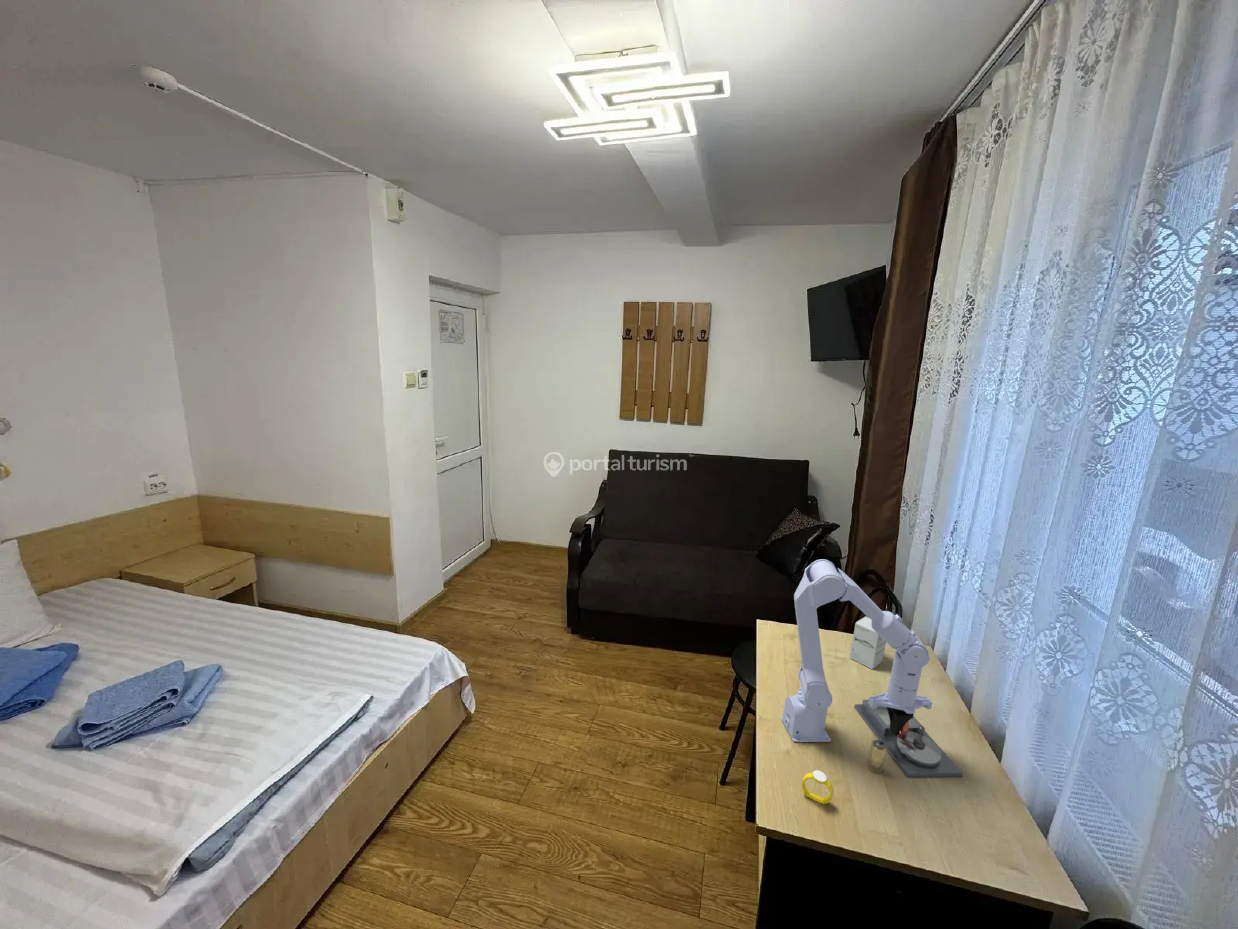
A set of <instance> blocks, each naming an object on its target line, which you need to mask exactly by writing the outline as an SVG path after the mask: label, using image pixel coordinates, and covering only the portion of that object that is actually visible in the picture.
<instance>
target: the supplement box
mask: <svg viewBox="0 0 1238 929" xmlns="http://www.w3.org/2000/svg"><path fill="white" fill-rule="evenodd" d="M871 623H872V620H871V619H870V618H869V617H868V616H864V617H863V618H861V619H859V620H857V621H856V622H855V624H854V628H853V629H854V631H853V637H852V640H851V641H852V642H851V646H850V652H849V658H850V659H851V660H854V661H856V662H857V663H859V664H861V665H862V666H864V667H866V668H868V669H870V670H874V669H875V668H876V667H877V666H879V665H880V664H881V663H882V662H883V660H884V655H885V649H886V644H887V642H886V641H885V640H884V639H883V638H882V637H881V636H880V635H879V634H878V633H877V632H876V631H875V630H873V628H872V625H871Z"/></svg>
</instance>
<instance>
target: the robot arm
mask: <svg viewBox="0 0 1238 929" xmlns="http://www.w3.org/2000/svg"><path fill="white" fill-rule="evenodd" d="M838 599H839V601H840V602H848V601H850V602H851V603H852V604H853V605H854V606H855V607H856V608H858V609H859V610H860V611H861V612H862V613H863V614H864V615H865V616H866V617H868V618H870V619H871V620H872V623H871V625H872V628H873V630H875V631H876V632H877V633H878V634H879V635H880V636H881V637H882V638H883V639H884V640H885V641H886V644H888V646H890V648H892V649H893V650H895V652H894V658H893V661H892V667H891V672H890V677H889V678H890V679H889V684H888V688H887V691H886V692H883V693H879V694H877V695H874V696H873V695H871V696H868V699H867V700H868V704H869V705H870V707H871V708H872V709H877V707H886V708H887V711H888V714H889V718H890V730H891V731H892V732H893V734H894V735H899V733H900V730H901V729H902V727H903V726H904V725H905V724H906V723H907V722H908V721H909V720H910V719H912V718H913V716H915V713H916V710H917V709H921V708H925V710H931V709H932V706H933V701H932V700H931V699H930V698H929V697H928V696H923V695H918V690H919V685H920V680H921V674H922V671H923V668H924V667H925V666H926V665H928V664H929V662H930V661H931V658H930V656H929V654H930V653H929V651H928V649H927V648H926V646H925V645H924V643H923V642H922V641H921V639H920V638H919V636H917V633H916V632H915V631H914V630H913V629H911V630H910V629H909V628H908V627H907V626H906V625H905V624H904V623H903V619H902V618H901V616H899V614H897V613H896V614H894V613H893V612H891V611H889V610H882V609H880V607H879V606H878V605H877V604H876V603H875V601H874V600H872V599H871V598H870V596H868V595H867V594H866V593H865V592H864V590H862V589H861V587H860V586H859V585H858V584H857V583H856V582H855V581H854V580H853V579H851V577H849V575H847V574H846V573H845V572H844V571H842V570H841V569H840V568H839V567H837V568H836V566H835V564H834V563H833V562H832V561H830V560H828V559H823V558H822V559H816V560H814V561H813V562H811V563H810V564H809V565H808V566H806V568H804V573H803V575H802V578H801V580H800V581H799V584H798V586H797V588H796V589H795V592H794V594H793V600H794V601H793V602H794V609H795V619H796V626H797V634H798V642H799V650H800V658H801V660H800V668H799V670H798V673H797V674H798V675H797V676H798V680H799V682H800V687H799V688H798V690H797V693H796V694H794V695H791V696H787V697H786V698H785V700H784V706H783V707H784V708H783V714H782V716H781V721H782V723H783V725H784V727H785V729H786V731H787V732H788V734H789V736H790V738H791V740H792V742H794V743H809V742H810V743H817V742H818V743H819V742H820V743H825V742H827V743H828V742H829V743H830V742H831V741H832V739H831V737H830V736H829V734H828V732H827V731H826V729H825V728H826V721H827V716H828V708H829V707H830V706H831V705H832V703H833V695H832V693H831V691H830V689H829V686H828V682H827V680H826V675H825V670H824V664H823V657H822V656H823V655H822V648H821V647H822V646H821V639H820V629H819V621H818V620H819V619H818V611H817V610H818V608H819V607H821V606H824V605H826V604H829V603H831V602H834V601H836V600H838Z"/></svg>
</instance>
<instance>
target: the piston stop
mask: <svg viewBox="0 0 1238 929" xmlns="http://www.w3.org/2000/svg"><path fill="white" fill-rule="evenodd" d="M886 753H887V750H886V746H885V744H884V743H883V742H882V741H879V740H878V739H875V740H872V741H871V743H870V749H869V756H868V761H867V768H868V770H869V771H871V772H872V773H874V774H876V775H880V774H882V772H883V769H884V763H885V758H886Z"/></svg>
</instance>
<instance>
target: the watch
mask: <svg viewBox="0 0 1238 929" xmlns="http://www.w3.org/2000/svg"><path fill="white" fill-rule="evenodd" d="M827 778H828V777H827V775H826V774H825V773H824V772H823V771H821V770H818V769H816V770H814V771H812V772H807V773H806V774H804V776H803V777H802V782H801V788H802V791H803V793H804V794H805V796H806V797H807V798H808V797H809V798H808V799H810V798H811V800H812V799H813V801H815V802H817V803H819V804H821V803H822V804H821V805H825V804H828V803H830V802H831V801H832V800H833V797H834V796H833V795H834V788H833V786H832V784H831V782H830V781H829V779H827ZM810 779H813V780H814V781H815V783H818V784H820V785H825V786H826V787H827V789H828V791H829V793H830V794H829V795H828V796H827V797H821V796H818V795H817V794H816V793H815V794H814V793H812V792H810V790H809V789H808V788H807V786H806V783H805V782H806V781H807V780H810Z"/></svg>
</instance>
